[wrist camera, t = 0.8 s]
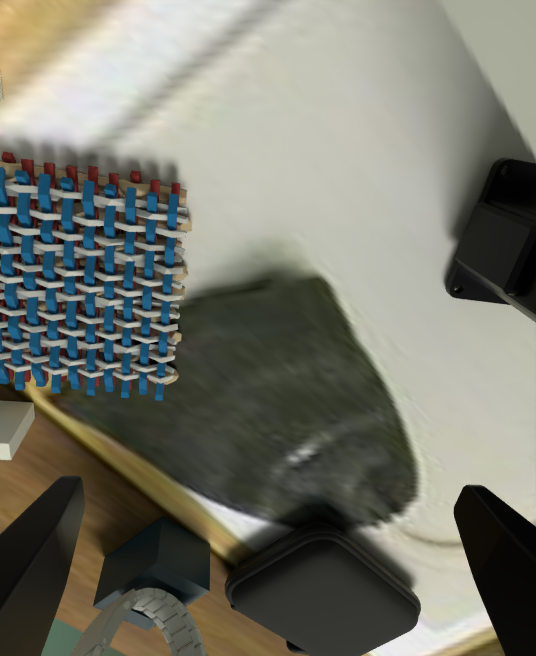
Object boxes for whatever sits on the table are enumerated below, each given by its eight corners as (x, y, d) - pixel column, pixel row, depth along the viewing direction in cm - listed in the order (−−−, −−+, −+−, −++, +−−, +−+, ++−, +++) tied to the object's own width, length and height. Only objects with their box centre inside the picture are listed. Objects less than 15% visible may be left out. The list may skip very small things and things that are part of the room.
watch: (173, 593, 31) (154, 814, 22) (82, 546, 28) (11, 784, 18) (230, 556, 30) (237, 775, 20) (142, 502, 26) (99, 734, 17)
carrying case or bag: (200, 573, 31) (315, 643, 37) (199, 618, 28) (323, 684, 35) (319, 500, 29) (420, 588, 35) (330, 541, 26) (437, 628, 32)
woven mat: (198, 177, 18) (196, 186, 16) (178, 381, 23) (175, 404, 21) (-76, 133, 16) (-111, 137, 15) (-35, 363, 21) (-58, 388, 19)
